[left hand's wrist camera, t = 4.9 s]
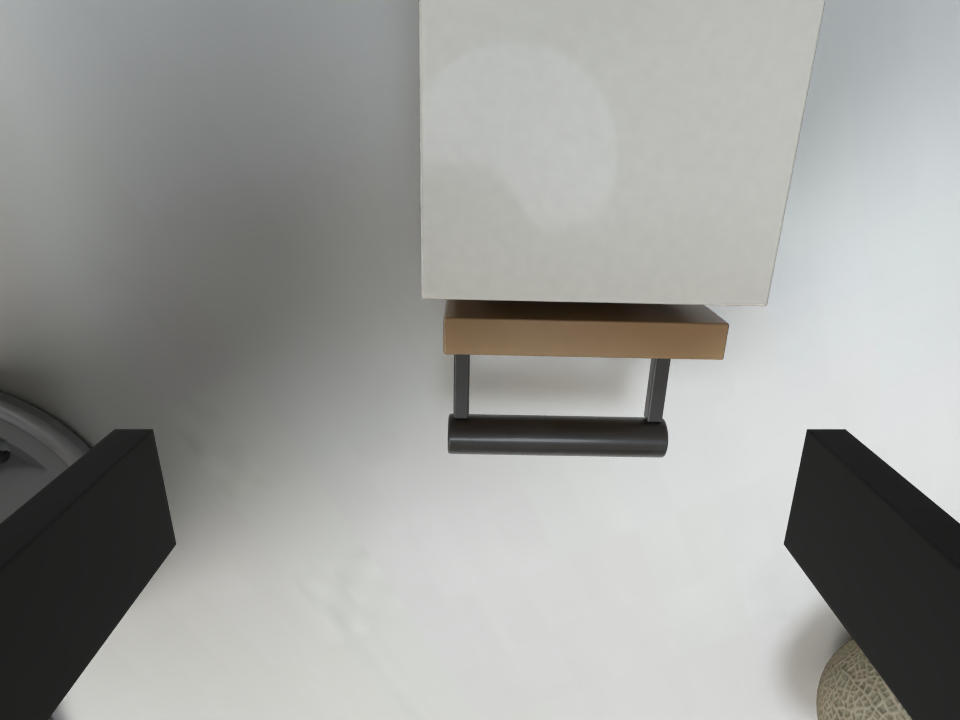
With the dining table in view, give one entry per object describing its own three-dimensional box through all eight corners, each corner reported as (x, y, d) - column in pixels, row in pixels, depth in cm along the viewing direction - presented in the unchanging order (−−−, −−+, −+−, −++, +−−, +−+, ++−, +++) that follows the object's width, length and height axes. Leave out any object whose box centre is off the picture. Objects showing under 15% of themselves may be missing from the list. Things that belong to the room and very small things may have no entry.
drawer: (636, 413, 29) (696, 518, 22) (451, 409, 29) (442, 513, 21) (709, -172, 22) (845, -344, 14) (456, -181, 21) (446, -360, 14)
